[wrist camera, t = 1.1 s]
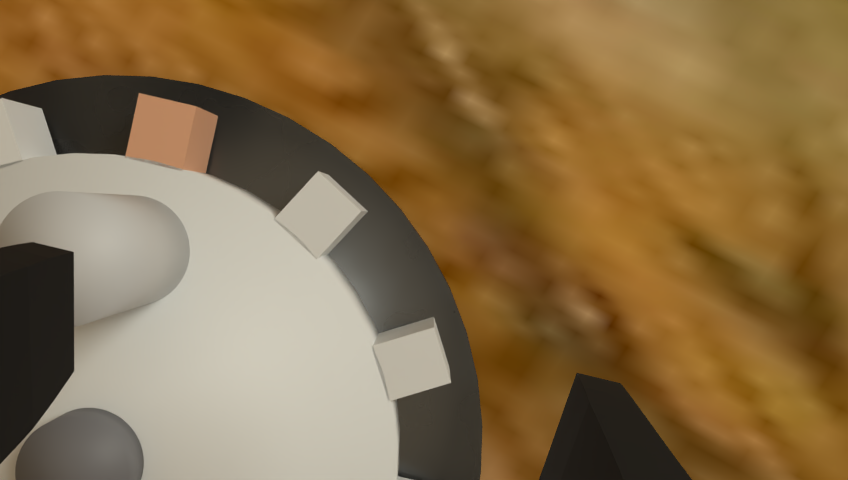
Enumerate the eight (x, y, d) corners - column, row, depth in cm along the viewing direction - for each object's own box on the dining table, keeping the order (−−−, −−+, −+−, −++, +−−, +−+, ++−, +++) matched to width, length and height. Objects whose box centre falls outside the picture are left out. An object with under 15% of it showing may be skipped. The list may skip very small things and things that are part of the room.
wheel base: (393, 840, 23) (390, 887, 21) (-322, 674, 23) (-378, 708, 22) (552, 168, 22) (562, 164, 21) (-191, -4, 22) (-239, -21, 21)
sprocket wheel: (372, 830, 22) (351, 1056, 16) (-268, 680, 22) (-523, 851, 16) (524, 187, 22) (560, 176, 16) (-140, 33, 22) (-360, -36, 16)
